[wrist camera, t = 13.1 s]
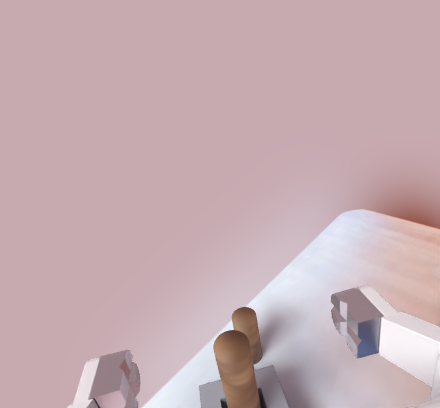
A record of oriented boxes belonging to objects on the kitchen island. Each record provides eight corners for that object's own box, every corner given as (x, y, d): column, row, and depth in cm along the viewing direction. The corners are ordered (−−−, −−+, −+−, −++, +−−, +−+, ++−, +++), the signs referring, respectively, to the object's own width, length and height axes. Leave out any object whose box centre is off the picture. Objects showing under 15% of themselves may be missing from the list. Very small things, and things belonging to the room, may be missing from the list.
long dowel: (260, 418, 36) (244, 326, 30) (269, 451, 33) (253, 356, 27) (233, 426, 36) (211, 335, 29) (239, 460, 33) (216, 366, 26)
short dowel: (258, 341, 46) (252, 304, 43) (265, 361, 43) (259, 322, 40) (237, 347, 46) (229, 310, 43) (242, 367, 43) (234, 328, 40)
